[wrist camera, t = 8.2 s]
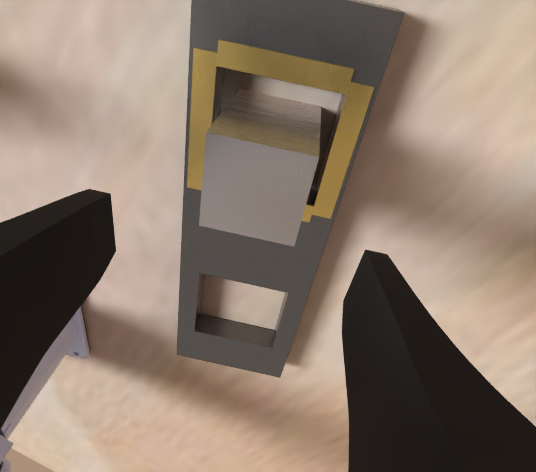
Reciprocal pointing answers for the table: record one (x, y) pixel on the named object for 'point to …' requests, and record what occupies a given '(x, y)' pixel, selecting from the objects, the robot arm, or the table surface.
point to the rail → (332, 171)
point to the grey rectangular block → (260, 166)
